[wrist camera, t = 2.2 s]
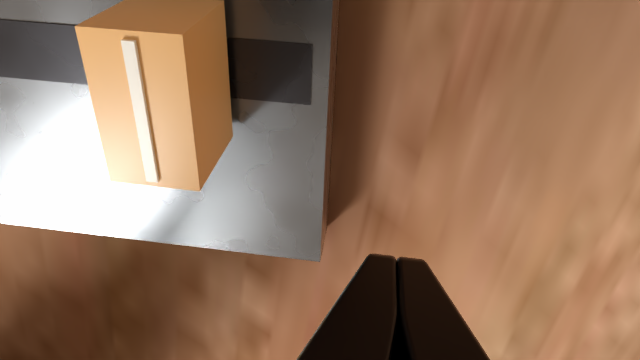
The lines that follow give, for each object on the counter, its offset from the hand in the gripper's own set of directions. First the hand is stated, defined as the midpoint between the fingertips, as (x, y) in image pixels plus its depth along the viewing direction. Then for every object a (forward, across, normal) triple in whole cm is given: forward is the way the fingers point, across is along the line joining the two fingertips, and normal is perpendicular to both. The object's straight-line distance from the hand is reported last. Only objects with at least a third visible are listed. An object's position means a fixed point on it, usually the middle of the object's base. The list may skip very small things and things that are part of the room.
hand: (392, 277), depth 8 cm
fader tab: (+7, +6, 0) cm, 9 cm away
